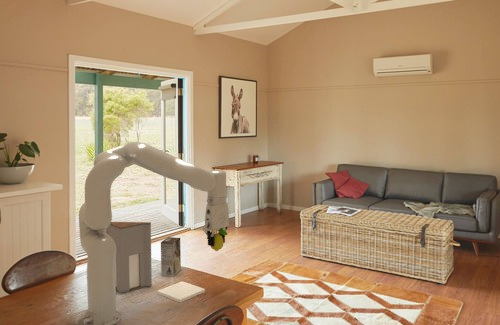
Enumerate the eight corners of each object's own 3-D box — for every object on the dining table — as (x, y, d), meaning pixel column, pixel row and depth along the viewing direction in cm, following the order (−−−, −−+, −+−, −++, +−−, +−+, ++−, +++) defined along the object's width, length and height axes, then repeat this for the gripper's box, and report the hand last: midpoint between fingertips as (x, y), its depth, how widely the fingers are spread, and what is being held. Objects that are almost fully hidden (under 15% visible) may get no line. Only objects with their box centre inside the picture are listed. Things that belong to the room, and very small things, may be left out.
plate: (180, 302, 170) (180, 299, 170) (157, 293, 179) (156, 290, 179) (205, 291, 181) (205, 289, 181) (182, 283, 190) (182, 281, 190)
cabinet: (151, 285, 187) (150, 222, 185) (145, 294, 178) (144, 227, 175) (103, 284, 188) (102, 221, 185) (95, 293, 178) (93, 227, 176)
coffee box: (168, 269, 208) (168, 236, 207) (181, 270, 207) (180, 237, 205) (160, 275, 199) (160, 241, 198) (174, 277, 198) (173, 242, 197)
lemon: (227, 250, 179) (227, 226, 178) (219, 254, 174) (219, 230, 173) (214, 248, 182) (214, 224, 181) (206, 251, 177) (206, 227, 176)
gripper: (208, 204, 167) (208, 250, 169) (237, 198, 180) (236, 241, 182) (194, 202, 172) (194, 246, 173) (223, 196, 185) (223, 238, 187)
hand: (216, 243), depth 178 cm, fingers closed on lemon, 5 cm apart
